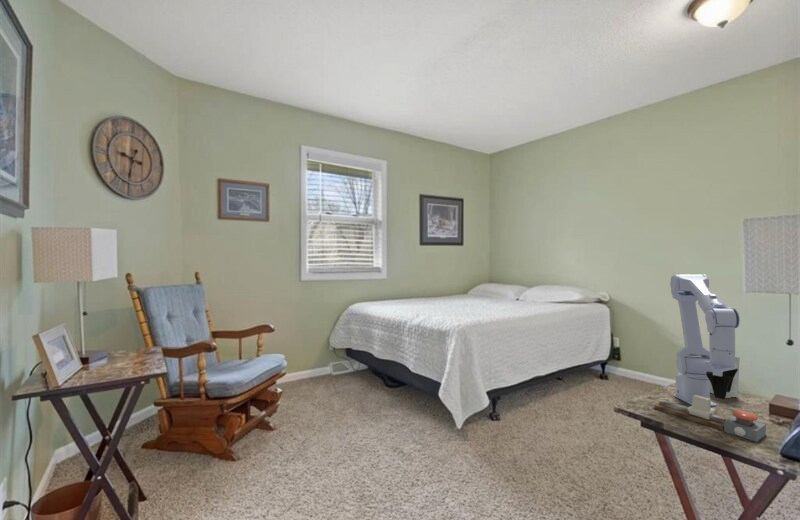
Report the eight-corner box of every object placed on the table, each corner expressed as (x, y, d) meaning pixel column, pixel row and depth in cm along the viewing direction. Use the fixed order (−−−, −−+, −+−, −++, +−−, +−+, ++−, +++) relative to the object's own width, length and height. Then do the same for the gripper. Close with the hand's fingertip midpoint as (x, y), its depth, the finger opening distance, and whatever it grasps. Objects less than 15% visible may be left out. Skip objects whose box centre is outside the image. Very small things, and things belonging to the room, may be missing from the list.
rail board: (654, 408, 123) (654, 401, 122) (663, 404, 126) (663, 397, 126) (722, 430, 107) (722, 422, 107) (731, 424, 110) (730, 417, 110)
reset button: (729, 424, 106) (729, 413, 106) (736, 419, 109) (736, 408, 109) (753, 431, 102) (753, 419, 101) (760, 426, 104) (760, 415, 104)
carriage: (687, 414, 114) (687, 396, 114) (696, 409, 118) (696, 392, 117) (707, 420, 110) (707, 402, 110) (715, 415, 113) (715, 397, 113)
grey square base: (723, 431, 106) (723, 421, 106) (733, 425, 110) (733, 415, 110) (756, 442, 100) (756, 431, 100) (765, 434, 104) (765, 424, 104)
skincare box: (702, 390, 137) (702, 350, 137) (717, 389, 138) (717, 349, 137) (724, 399, 129) (724, 356, 128) (740, 397, 129) (740, 355, 129)
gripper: (710, 342, 117) (710, 385, 117) (699, 350, 107) (699, 397, 107) (740, 346, 111) (740, 391, 111) (731, 355, 102) (731, 404, 102)
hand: (722, 394), depth 109 cm, fingers open, 7 cm apart
